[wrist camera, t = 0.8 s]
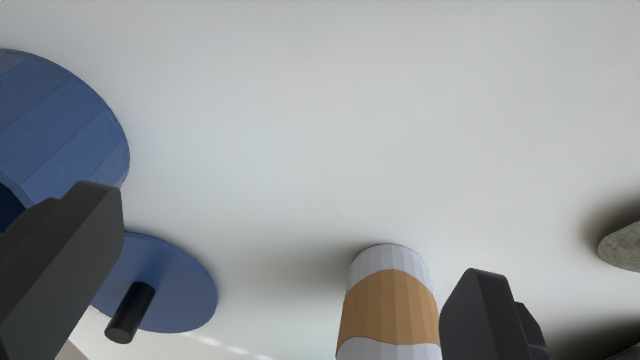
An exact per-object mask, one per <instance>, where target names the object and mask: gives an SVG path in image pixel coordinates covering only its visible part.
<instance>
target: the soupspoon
mask: <svg viewBox="0 0 640 360" xmlns="http://www.w3.org/2000/svg"><path fill="white" fill-rule="evenodd" d="M597 252H598V255H599V256H600V257H601V259H602V260H603V261H605V262H607V263H608V264H611V265H613V266H615V267H618V268H621V269H625V270H628V271H633V272H639V273H640V221H637V222H635V223H633V224H631V225H628V226H627V227H624V228H623V229H620V230H618V231H616V232H614V233H611V234H610V235H607V236H605V237H604V238H603V239H602V241H601V242H600V244H599V246H598V247H597Z"/></svg>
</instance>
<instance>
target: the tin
mask: <svg viewBox="0 0 640 360" xmlns="http://www.w3.org/2000/svg"><path fill="white" fill-rule="evenodd" d="M129 162H130V156H129V148H128V144H127V140H126V137H125V134H124V132H123V129H122V127H121V126H120V124H119V122H118V120H117V118H116V117H115V115H114V114H113V112H112V111H111V109H110V108H109V107H108V106H107V104H106V103H105V102H104V101H103V100H102V98H101V97H100V96H99V95H98V94H97V93H96V92H95V91H94V90H93V89H91V88H90V87H89V86H88V85H87V84H86V83H84V82H83V81H82V80H81V79H79V78H78V77H76V76H75V75H74V74H72V73H71V72H69V71H68V70H66V69H64V68H62V67H61V66H59V65H57V64H55V63H53V62H51V61H49V60H46V59H44V58H41V57H39V56H36V55H33V54H30V53H25V52H21V51H15V50H7V49H0V234H1V233H5V231H6V228H7V227H8V226H9V225H10V224H11V223H12V222H13V221H14V220H15V219H16V218H17V217H18V216H19V215H20V214H21V213H22V212H23V211H24V210H26V209H28V208H30V207H32V206H34V205H36V204H38V203H40V202H41V201H43V200H45V199H47V198H49V197H52V198H57V199H61V198H62V197H63V196H64V195H65V194H66V193H67V192H68V191H69V190H70V189H71V188H72V186H73V185H74V184H75V183H77V182H78V181H80V180H87V181H92V182H96V183H100V184H105V185H109V186H114V187H117V188H119V190H120V188H121V185H122V183H123V182H124V180H125V178H126V176H127V173H128V170H129Z"/></svg>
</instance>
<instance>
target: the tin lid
mask: <svg viewBox="0 0 640 360" xmlns="http://www.w3.org/2000/svg"><path fill="white" fill-rule="evenodd" d="M124 233H125V239H124V245H123V249H122V252H121V255H120V257H119V259H118V261H117V263H116V264H115V266H114V268H113V269H112V271H111V272H110V274H109V275H108V277H107V278H106V280H105V281H104V283H103V285H102V286H101V288H100V289H99V291H98V292H97V294H96V295H95V297H94V298H93V300H92V302H91V303H90V304H91V305H92V306H93V307H95V308H96V309H97V310H99V311H100V312H102V313H104V314H105V315H107V316H108V317H110V318H112V319H111V320H110V322H109V324H108V326H107V327H106V329H105V331H104V333H105V336H106V337H107V338H108V339H110V340H111V341H113V342H116V343H119V344H128V343H130V342H131V341H132V339H133V337H134V335H135V333H136V331H137V329H141V330H146V331H150V332H157V333H181V332H187V331H191V330H194V329H197V328H199V327H201V326H203V325H204V324H205V323H207V322H208V321H209V320H210V319H211V318H212V316H213V315H214V313H215V310H216V307H217V303H218V294H217V290H216V286H215V284H214V282H213V280H212V278H211V277H210V275H209V274H208V273H207V271H206V270H205V269H204V268H203V267H202V266H201V265H200V264H199V263H198V262H197V261H196V260H195V259H193V258H192V257H191V256H189V255H188V254H186V253H185V252H183V251H182V250H180V249H178V248H176V247H175V246H173V245H171V244H169V243H166V242H164V241H161V240H159V239H156V238H153V237H149V236H146V235H141V234H137V233H129V232H124Z"/></svg>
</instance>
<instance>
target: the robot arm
mask: <svg viewBox="0 0 640 360" xmlns="http://www.w3.org/2000/svg"><path fill="white" fill-rule="evenodd" d="M124 239H125V233H124V222H123V211H122V200H121V192H120V190H119V188H117V187H114V186H109V185H105V184H100V183H96V182H92V181H87V180H80V181H78V182H77V183H75V184H74V185H73V186H72V188H71V189H70V190H69V191H68V192H67V193H66V194H65V195H64V196H63V197H62V198H61V199H57V198H52V197H49V198H47V199H45V200H43V201H41V202H40V203H38V204H36V205H34V206H32V207H30V208H28V209H26V210H24V211H23V212H22V213H21V214H20V215H19V216H18V217H17V218H16V219H15V220H14V221H13V222H12V223H11V224H10V225H9V226H8V227H7V228H6V231H5V233H1V234H0V360H54V359H55V357H56V356H57V354H58V353H59V351H60V350H61V348H62V346H63V345H64V343H65V342H66V340H67V339H68V337H69V336H70V334H71V333H72V331H73V329H74V328H75V326H76V325H77V323H78V322H79V320H80V319H81V317H82V315H83V314H84V312H85V311H86V309H87V308H88V306H89V305H90V303H91V302H92V300H93V298H94V297H95V295H96V294H97V292H98V291H99V289H100V288H101V286H102V285H103V283H104V281H105V280H106V278H107V277H108V275H109V274H110V272H111V271H112V269H113V268H114V266H115V264H116V263H117V261H118V259H119V257H120V255H121V252H122V249H123V245H124ZM438 331H439V340H440V347H441V354H442V360H551V357H550V354H549V353H547V346H546V343H545V340H544V338H543V335H542V332H541V329H540V327H539V325H538V323H537V322H536V320H535V319H534V318H533V316H532V315H531V314H530V312H529V311H528V310H527V308H526V307H525V305H524V304H523V303H519V302H515V301H514V299H513V296H512V293H511V290H510V287H509V284H508V281H507V279H506V277H505V276H503V275H500V274H496V273H491V272H487V271H483V270H478V269H474V268H469V269H467V270H466V271H465V272H464V274H463V276H462V277H461V279H460V280H459V282H458V283H457V285H456V287H455V288H454V290H453V291H452V293H451V295H450V296H449V298H448V299H447V301H446V303H445V304H444V306H443V308H442V310H441V313H440V318H439V326H438Z"/></svg>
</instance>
